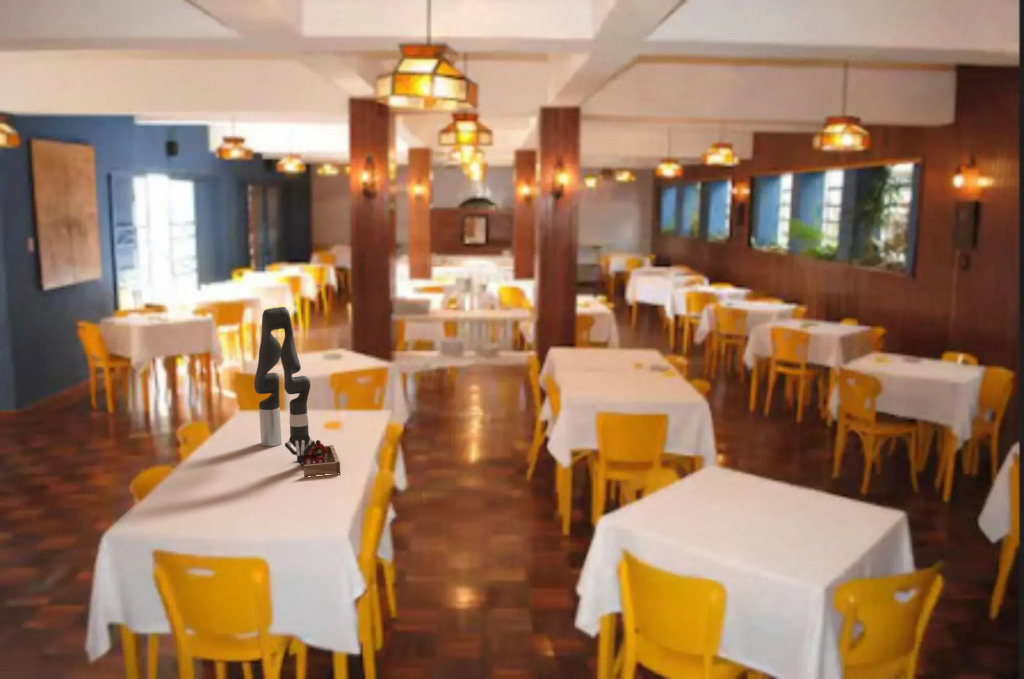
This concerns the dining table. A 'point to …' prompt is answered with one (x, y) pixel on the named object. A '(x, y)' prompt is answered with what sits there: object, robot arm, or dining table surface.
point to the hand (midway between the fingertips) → (300, 463)
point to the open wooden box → (324, 465)
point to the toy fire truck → (314, 457)
